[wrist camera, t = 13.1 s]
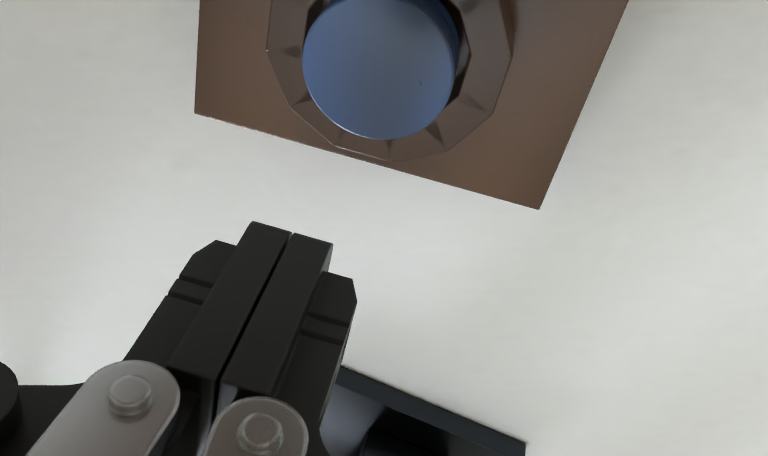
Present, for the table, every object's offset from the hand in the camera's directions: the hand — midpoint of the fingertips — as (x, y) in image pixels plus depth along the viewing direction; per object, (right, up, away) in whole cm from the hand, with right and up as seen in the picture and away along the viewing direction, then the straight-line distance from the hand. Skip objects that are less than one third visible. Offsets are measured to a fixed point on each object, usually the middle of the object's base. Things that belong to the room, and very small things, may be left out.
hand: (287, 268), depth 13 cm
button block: (+3, +8, +11) cm, 14 cm away
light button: (+2, +6, +9) cm, 11 cm away
